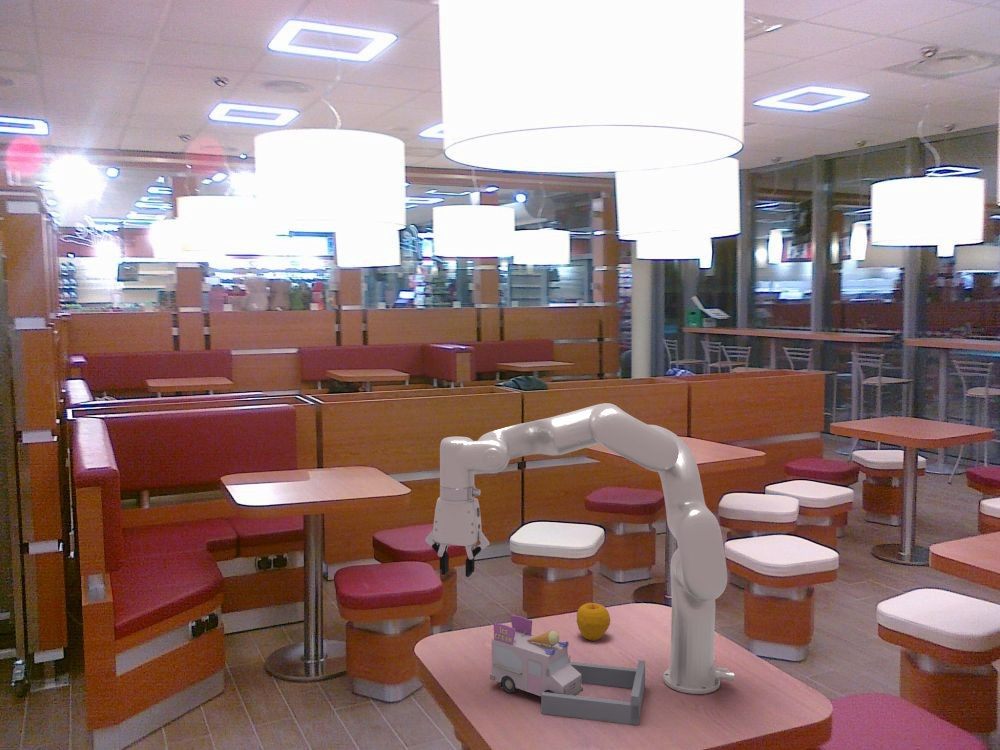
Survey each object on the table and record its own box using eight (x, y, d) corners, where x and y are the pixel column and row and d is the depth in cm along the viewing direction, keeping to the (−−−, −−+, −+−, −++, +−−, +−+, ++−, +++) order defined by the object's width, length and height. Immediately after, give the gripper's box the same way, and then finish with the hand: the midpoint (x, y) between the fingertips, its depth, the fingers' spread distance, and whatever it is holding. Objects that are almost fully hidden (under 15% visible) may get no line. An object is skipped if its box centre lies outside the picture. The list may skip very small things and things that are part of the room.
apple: (616, 638, 222) (617, 604, 221) (594, 647, 216) (595, 612, 215) (591, 629, 228) (591, 596, 227) (569, 637, 222) (569, 603, 221)
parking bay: (644, 686, 194) (645, 660, 194) (637, 725, 177) (638, 696, 176) (556, 677, 199) (556, 651, 198) (541, 713, 182) (541, 685, 181)
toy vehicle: (561, 714, 181) (562, 644, 180) (487, 688, 193) (487, 622, 192) (584, 698, 189) (585, 631, 187) (512, 674, 201) (512, 610, 199)
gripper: (498, 491, 193) (498, 572, 195) (425, 487, 197) (426, 566, 199) (490, 499, 186) (489, 582, 187) (414, 494, 190) (415, 576, 191)
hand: (457, 573), depth 193 cm, fingers open, 4 cm apart
